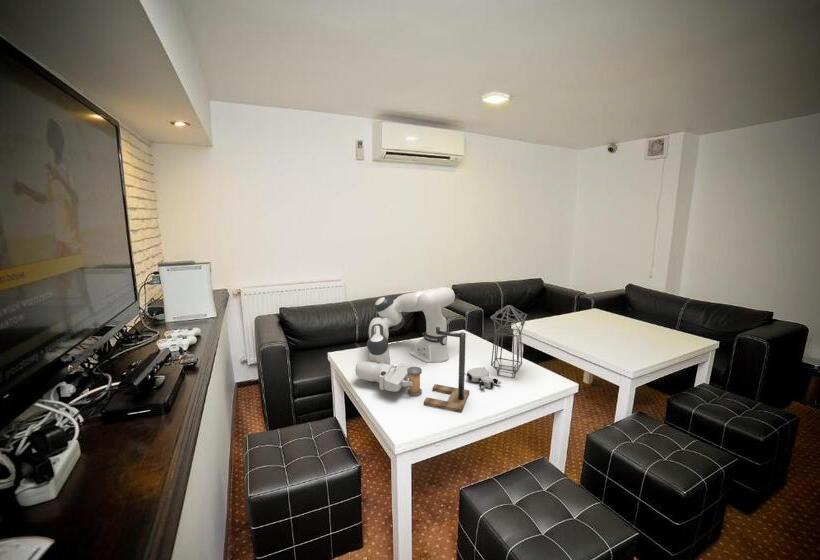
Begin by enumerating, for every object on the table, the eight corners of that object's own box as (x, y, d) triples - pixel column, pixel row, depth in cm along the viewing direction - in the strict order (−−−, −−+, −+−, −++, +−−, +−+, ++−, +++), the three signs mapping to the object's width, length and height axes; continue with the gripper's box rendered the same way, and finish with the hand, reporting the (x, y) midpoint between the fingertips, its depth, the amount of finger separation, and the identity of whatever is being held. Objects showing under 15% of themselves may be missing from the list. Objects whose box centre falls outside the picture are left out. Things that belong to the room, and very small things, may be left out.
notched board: (423, 405, 139) (423, 401, 139) (434, 387, 154) (434, 384, 154) (461, 412, 133) (461, 409, 133) (469, 393, 148) (469, 390, 148)
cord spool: (404, 393, 149) (404, 370, 147) (413, 387, 153) (413, 365, 151) (415, 398, 145) (415, 374, 142) (424, 392, 149) (424, 369, 147)
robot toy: (502, 388, 154) (482, 372, 167) (503, 379, 153) (482, 364, 166) (481, 394, 149) (461, 378, 162) (482, 385, 148) (462, 369, 161)
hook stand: (434, 394, 144) (435, 328, 138) (436, 392, 146) (436, 326, 141) (463, 400, 140) (465, 331, 134) (464, 397, 142) (466, 330, 136)
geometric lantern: (487, 376, 164) (489, 307, 158) (494, 364, 178) (497, 300, 172) (520, 383, 157) (523, 310, 151) (525, 370, 170) (529, 303, 165)
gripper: (397, 371, 162) (423, 375, 158) (378, 391, 144) (408, 397, 139) (396, 358, 161) (423, 363, 156) (377, 377, 143) (408, 383, 138)
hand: (416, 379), depth 147 cm, fingers open, 7 cm apart
